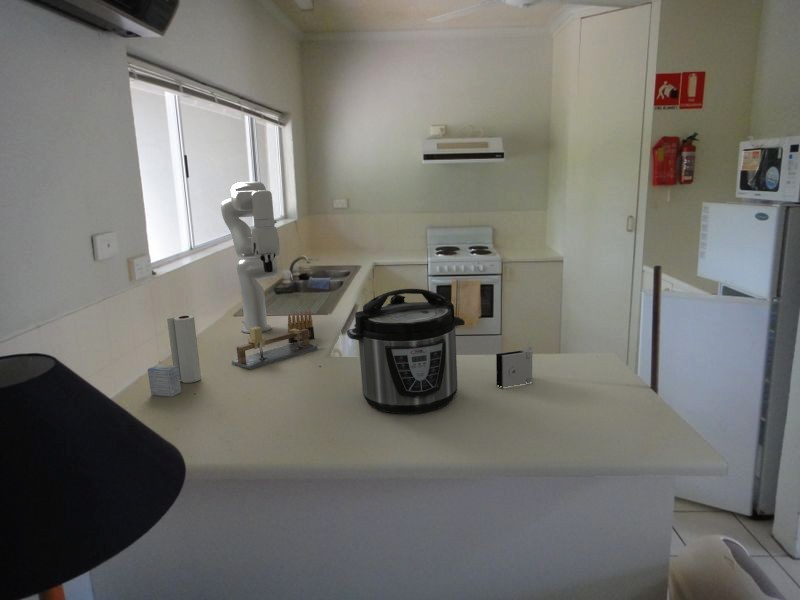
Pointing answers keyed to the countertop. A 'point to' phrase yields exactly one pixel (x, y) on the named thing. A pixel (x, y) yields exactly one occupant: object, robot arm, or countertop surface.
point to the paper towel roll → (184, 347)
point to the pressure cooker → (407, 352)
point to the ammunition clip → (300, 325)
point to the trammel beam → (293, 333)
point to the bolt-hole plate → (275, 355)
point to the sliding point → (257, 339)
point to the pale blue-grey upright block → (164, 380)
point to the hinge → (514, 367)
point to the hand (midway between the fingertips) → (268, 271)
